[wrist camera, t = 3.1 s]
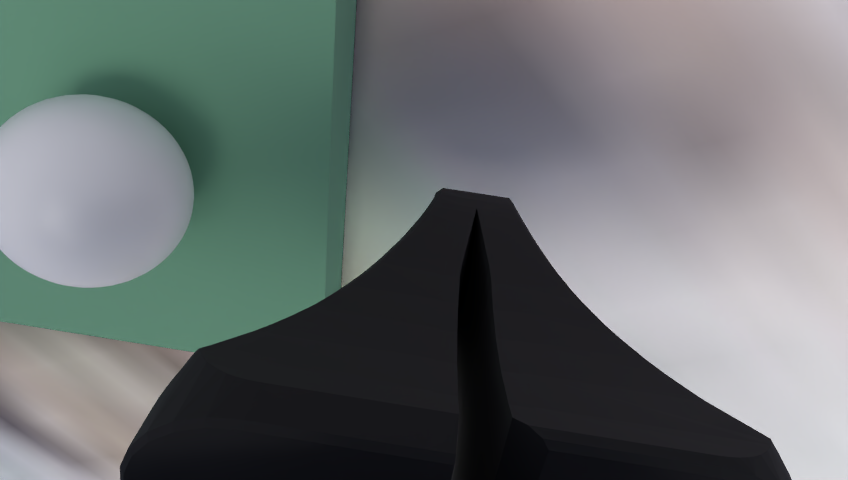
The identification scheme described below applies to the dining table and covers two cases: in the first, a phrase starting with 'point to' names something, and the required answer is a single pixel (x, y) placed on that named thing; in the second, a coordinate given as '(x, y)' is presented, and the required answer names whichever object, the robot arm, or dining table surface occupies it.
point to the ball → (90, 191)
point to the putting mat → (202, 154)
